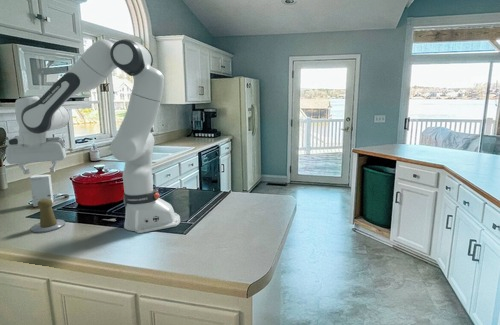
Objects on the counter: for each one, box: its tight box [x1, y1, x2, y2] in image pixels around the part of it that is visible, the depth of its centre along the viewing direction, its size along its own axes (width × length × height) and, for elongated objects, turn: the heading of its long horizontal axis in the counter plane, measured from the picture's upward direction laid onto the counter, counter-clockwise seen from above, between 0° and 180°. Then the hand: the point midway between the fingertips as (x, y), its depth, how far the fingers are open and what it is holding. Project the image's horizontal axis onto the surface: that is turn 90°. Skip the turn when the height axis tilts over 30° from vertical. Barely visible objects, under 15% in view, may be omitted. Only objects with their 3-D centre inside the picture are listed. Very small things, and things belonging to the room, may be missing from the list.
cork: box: [37, 199, 57, 228], centre depth 133 cm, size 6×6×11 cm
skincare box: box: [29, 173, 54, 207], centre depth 162 cm, size 8×6×15 cm
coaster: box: [30, 218, 66, 234], centre depth 134 cm, size 12×12×1 cm
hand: (39, 172), depth 129 cm, fingers open, 8 cm apart
